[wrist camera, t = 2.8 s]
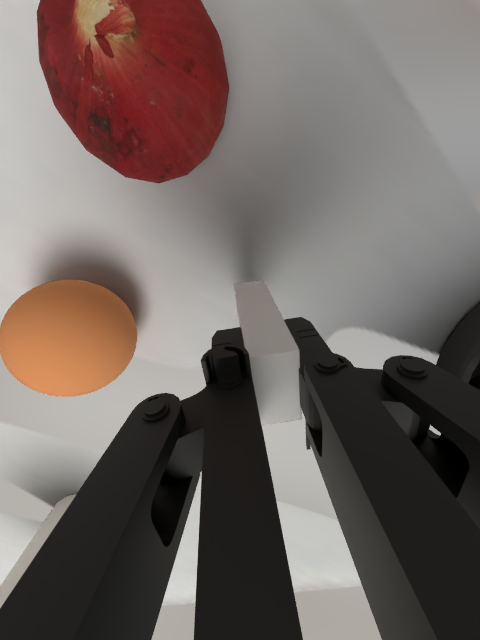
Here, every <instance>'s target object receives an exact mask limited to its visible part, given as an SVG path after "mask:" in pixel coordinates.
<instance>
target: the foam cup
mask: <svg viewBox="0 0 480 640" xmlns="http://www.w3.org/2000/svg"><path fill="white" fill-rule="evenodd" d="M76 495H77V494H74V495H69V496H66V497H64V498H63V499H62V500H60V501H59V502H57V503H56V505H55V507H54V509H53V510H51V512H50V513H49V515H48V516H47V518H46V519H45V521H44V522H43V524H42V525H41V527H40V528H39V530H38V531H37V533H36V534H35V536H34V537H33V539H32V540H31V542H30V543H29V545H28V546H27V548H26V549H25V551H24V552H23V554H22V555H21V557H20V558H19V559H18V561H17V562H16V564H15V565H14V567H13V568H12V570H11V571H10V573H9V574H8V576H7V577H6V579H5V580H4V582H3V583H2V585H1V586H0V608H1V606H2V605H3V603H4V602H5V601H6V599H7V598H8V596H9V595H10V593H11V592H12V590H13V589H14V587H15V586H16V584H17V583H18V581H19V580H20V578H21V577H22V575H23V574H24V572H25V571H26V569H27V568H28V566H29V565H30V563H31V562H32V560H33V559H34V557H35V556H36V554H37V553H38V551H39V550H40V548H41V547H42V545H43V544H44V542H45V541H46V539H47V538H48V536H49V535H50V533H51V532H52V530H53V529H54V527H55V526H56V524H57V523H58V521H59V520H60V518H61V517H62V515H63V514H64V512H65V511H66V509H67V508H68V506H69V505H70V503H71V502H72V500H73V499H74V497H75V496H76Z"/></svg>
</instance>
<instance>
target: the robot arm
mask: <svg viewBox="0 0 480 640" xmlns="http://www.w3.org/2000/svg"><path fill="white" fill-rule="evenodd" d="M234 289H235V296H236V303H237V310H238V316H239V323H240V327H239V328H232V329H226V330H219V331H217V332H216V333H215V334H214V336H213V337H212V349H210V350H208V351H207V352H206V353H205V354H204V355H203V357H202V359H201V364H202V368H203V372H204V377H205V380H206V387H205V388H204V389H203V390H202V391H200V392H199V393H197V394H196V395H193V396H191V397H189V398H186V399H184V400H181V401H180V400H179V398H178V397H176V396H175V395H174V394H168V393H162V394H156V395H154V396H151V397H148V398H147V399H145V400H143V401H142V402H141V403H139V404H138V405H137V406H136V407H135V409H134V410H133V411H132V413H131V414H130V415H129V417H128V418H127V420H126V422H125V423H124V424H123V426H122V427H121V429H120V430H119V432H118V434H117V435H116V436H115V438H114V439H113V441H112V442H111V444H110V445H109V447H108V448H107V450H106V451H105V453H104V454H103V456H102V457H101V459H100V460H99V462H98V463H97V465H96V466H95V468H94V469H93V471H92V472H91V474H90V475H89V477H88V478H87V480H86V481H85V483H84V484H83V486H82V487H81V489H80V490H79V492H78V493H77V495H76V496H75V497H74V499H73V500H72V502H71V503H70V505H69V506H68V508H67V509H66V511H65V512H64V514H63V515H62V517H61V518H60V520H59V521H58V523H57V524H56V526H55V527H54V529H53V530H52V532H51V533H50V535H49V536H48V538H47V539H46V541H45V542H44V544H43V545H42V547H41V548H40V550H39V551H38V553H37V554H36V556H35V557H34V559H33V560H32V562H31V563H30V565H29V566H28V568H27V569H26V571H25V572H24V574H23V575H22V577H21V578H20V580H19V581H18V583H17V584H16V586H15V587H14V589H13V590H12V592H11V593H10V595H9V596H8V598H7V599H6V601H5V602H4V603H3V605H2V606H1V608H0V640H151V639H152V635H153V632H154V629H155V625H156V622H157V619H158V615H159V612H160V608H161V605H162V602H163V598H164V595H165V592H166V588H167V585H168V581H169V578H170V575H171V571H172V568H173V564H174V561H175V558H176V554H177V551H178V548H179V544H180V541H181V537H182V534H183V531H184V527H185V524H186V521H187V517H188V514H189V510H190V507H191V504H192V500H193V497H194V493H195V490H196V487H197V483H198V480H199V476H200V472H201V471H202V484H201V505H200V525H199V545H198V566H197V586H196V607H195V628H194V640H303V638H302V633H301V627H300V622H299V617H298V612H297V607H296V601H295V596H294V591H293V586H292V581H291V576H290V570H289V565H288V560H287V555H286V550H285V545H284V539H283V534H282V529H281V524H280V519H279V514H278V508H277V503H276V498H275V493H274V488H273V483H272V477H271V472H270V467H269V462H268V457H267V452H266V446H265V441H264V436H263V431H262V426H261V425H268V424H274V423H281V422H287V421H293V420H300V419H301V418H302V416H301V409H302V411H303V413H304V416H305V419H306V446H307V449H310V444H311V447H312V449H313V452H314V455H315V457H316V460H317V463H318V465H319V468H320V471H321V474H322V477H323V479H324V482H325V485H326V488H327V490H328V493H329V496H330V498H331V501H332V504H333V506H334V509H335V512H336V515H337V518H338V520H339V523H340V526H341V529H342V531H343V534H344V537H345V539H346V542H347V545H348V548H349V550H350V553H351V556H352V559H353V561H354V564H355V567H356V570H357V572H358V575H359V578H360V580H361V583H362V586H363V589H364V591H365V594H366V597H367V599H368V602H369V605H370V608H371V611H372V613H373V616H374V618H375V621H376V624H377V627H378V630H379V632H380V635H381V638H382V640H480V303H479V304H478V305H477V306H476V307H475V308H474V309H473V310H472V311H471V312H470V313H469V314H468V315H467V316H466V317H465V318H464V319H463V320H462V321H461V323H460V324H459V325H458V326H457V328H456V329H455V330H454V332H453V333H452V334H451V336H450V337H449V339H448V340H447V342H446V344H445V346H444V348H443V349H442V351H441V354H440V356H439V358H438V361H437V364H436V365H434V364H433V363H431V362H428V361H426V360H424V359H422V358H418V357H413V356H401V355H400V356H395V357H391V358H389V359H388V360H386V361H385V363H384V365H383V370H378V369H363V368H356V367H354V366H353V365H352V363H351V362H350V361H349V360H347V359H346V358H345V357H343V356H340V355H338V354H334V353H332V352H331V350H330V349H329V347H328V346H327V345H326V343H325V342H324V340H323V339H322V337H321V336H320V335H319V333H318V332H317V330H315V328H314V326H313V325H312V323H311V322H310V321H308V320H306V319H304V318H302V317H299V318H292V319H286V320H284V319H283V317H282V316H281V314H280V312H279V310H278V308H277V306H276V304H275V302H274V300H273V298H272V296H271V294H270V292H269V290H268V288H267V286H266V285H265V283H264V281H263V280H258V281H252V282H245V283H238V284H234ZM430 425H431V426H433V427H434V428H435V429H437V430H438V431H439V432H440V433H441V436H439V435H437V434H435V433H433V432H432V431H431V430H429V427H430Z"/></svg>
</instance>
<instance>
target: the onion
mask: <svg viewBox="0 0 480 640" xmlns="http://www.w3.org/2000/svg"><path fill="white" fill-rule="evenodd" d="M37 23H38V45H39V61H40V64H41V67H42V70H43V73H44V76H45V79H46V82H47V85H48V88H49V91H50V94H51V97H52V100H53V103H54V105H55V107H56V109H57V110H58V112H59V113H60V115H61V116H62V118H63V119H64V120H65V122H66V123H67V124H68V126H69V127H70V128H71V130H72V131H73V132H74V134H75V135H76V137H77V138H78V139H79V141H80V142H81V143H82V145H83V146H84V147H85V149H86V150H87V151H89V152H90V153H91V154H93V155H94V156H96V157H97V158H99V159H100V160H101V161H103V162H104V163H106V164H107V165H109V166H110V167H112V168H113V169H114V170H116V171H117V172H119V173H120V174H122V175H123V176H125V177H128V178H133V179H138V180H144V181H149V182H154V183H162V182H165V181H168V180H171V179H175V178H178V177H181V176H184V175H187V174H188V173H190V172H191V171H192V170H193V169H194V168H195V167H196V166H198V165H199V164H200V163H201V162H202V161H203V160H204V159H205V158H207V157H208V156H209V154H210V152H211V150H212V148H213V146H214V144H215V142H216V140H217V138H218V136H219V134H220V132H221V130H222V128H223V125H224V119H225V112H226V106H227V99H228V93H229V84H228V78H227V72H226V66H225V60H224V54H223V49H222V44H221V40H220V37H219V34H218V32H217V30H216V28H215V26H214V25H213V23H212V21H211V19H210V17H209V15H208V13H207V12H206V10H205V8H204V6H203V4H202V2H201V0H40V3H39V6H38V10H37Z"/></svg>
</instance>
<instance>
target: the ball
mask: <svg viewBox="0 0 480 640" xmlns="http://www.w3.org/2000/svg"><path fill="white" fill-rule="evenodd" d="M136 342H137V330H136V324H135V321H134V318H133V315H132V313H131V311H130V310H129V308H128V307H127V305H126V304H125V303H124V302H123V301H122V300H121V299H120V298H119V297H118V296H117V295H116V294H115V293H113V292H112V291H110V290H108V289H107V288H105V287H103V286H100V285H98V284H95V283H92V282H88V281H83V280H58V281H52V282H48V283H45V284H42V285H40V286H37V287H35V288H33V289H31V290H30V291H28V292H26V293H25V294H23V295H22V296H21V297H20V298H19V299H17V300H16V301H15V302H14V303H13V304H12V306H11V307H10V308H9V310H8V311H7V313H6V314H5V316H4V318H3V320H2V323H1V327H0V354H1V356H2V359H3V362H4V364H5V366H6V367H7V369H8V370H9V371H10V373H11V374H12V375H13V376H14V377H15V378H16V379H17V380H19V381H20V382H21V383H22V384H24V385H26V386H27V387H29V388H31V389H33V390H35V391H38V392H40V393H43V394H47V395H53V396H62V397H63V396H78V395H83V394H87V393H91V392H93V391H96V390H98V389H101V388H103V387H104V386H106V385H108V384H109V383H111V382H112V381H113V380H115V379H116V378H117V377H118V376H119V375H120V374H121V373H122V372H123V371H124V369H125V368H126V367H127V366H128V364H129V363H130V361H131V359H132V357H133V354H134V351H135V348H136Z"/></svg>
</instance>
